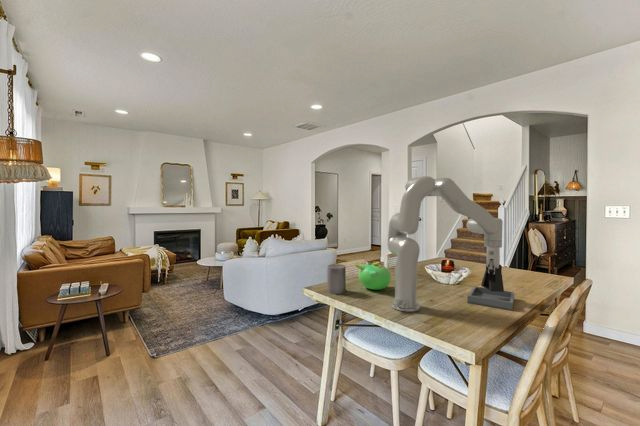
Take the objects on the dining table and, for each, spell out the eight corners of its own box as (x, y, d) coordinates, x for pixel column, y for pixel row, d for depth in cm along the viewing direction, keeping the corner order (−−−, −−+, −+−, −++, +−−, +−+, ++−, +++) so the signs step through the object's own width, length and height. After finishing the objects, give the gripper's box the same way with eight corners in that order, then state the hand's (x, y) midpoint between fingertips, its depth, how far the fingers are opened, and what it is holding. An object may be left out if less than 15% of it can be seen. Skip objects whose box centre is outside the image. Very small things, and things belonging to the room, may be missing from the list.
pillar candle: (336, 287, 167) (336, 260, 167) (349, 291, 160) (349, 263, 159) (323, 291, 161) (323, 263, 160) (336, 295, 154) (336, 266, 153)
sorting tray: (512, 310, 133) (512, 303, 133) (467, 302, 144) (467, 295, 143) (514, 299, 150) (514, 292, 150) (473, 292, 160) (474, 286, 160)
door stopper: (503, 291, 142) (506, 266, 141) (491, 291, 142) (493, 266, 141) (492, 286, 151) (494, 262, 150) (480, 285, 151) (482, 261, 150)
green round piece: (396, 290, 164) (397, 263, 163) (375, 296, 153) (376, 267, 153) (371, 283, 178) (371, 258, 177) (350, 287, 167) (351, 261, 167)
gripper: (500, 246, 136) (499, 286, 137) (503, 242, 150) (502, 278, 151) (481, 245, 141) (480, 283, 141) (486, 241, 155) (485, 276, 155)
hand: (492, 280), depth 146 cm, fingers closed on door stopper, 5 cm apart
